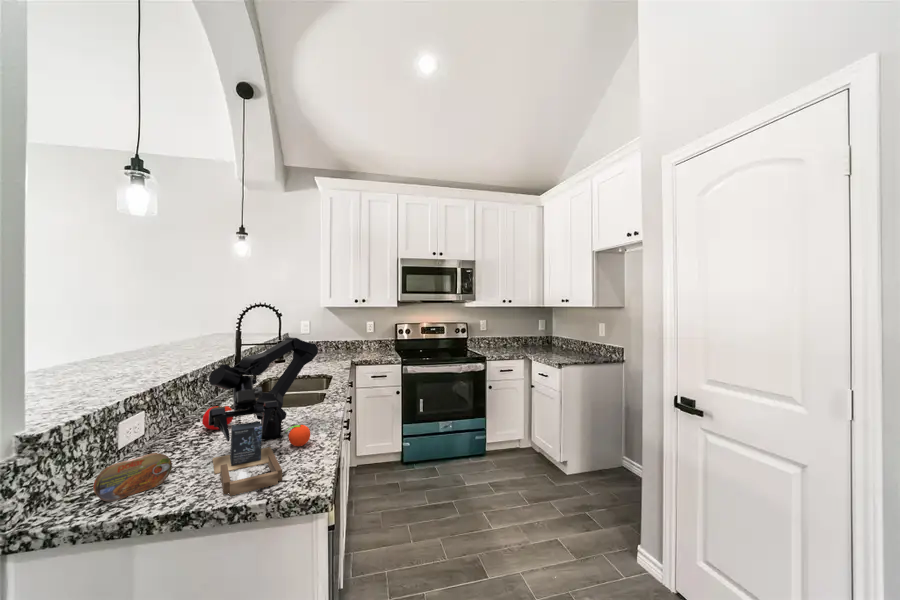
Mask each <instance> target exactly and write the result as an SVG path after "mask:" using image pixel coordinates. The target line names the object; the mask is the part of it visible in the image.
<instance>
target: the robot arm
mask: <svg viewBox="0 0 900 600" xmlns="http://www.w3.org/2000/svg"><path fill="white" fill-rule="evenodd" d="M290 352H292V360H291V361H290V362H289V364H288V366H286V368H285V370H284V371H283V373H282V374H281V375H280V377H279V378H278V379H277V381H276V383H275V384H274V385H273V386H272V389H270V391H268V392H266V391H265V392H264V391H263V387H262V386H257V387H256V386H255V388H254V387H253V386H254V385H256V384H257V383H258V380H257V379H255V378H253V377H252V376H259V375H261V374H263V373H264V372H265V371H266V370H268V368H269V367H270V365H271V363H273V362H275V361H276V360H278V359H279V358H281V357H283V356H285V355H286V354H288V353H290ZM318 354H319V347H318V345H317V344H316V343H314V342H307V341H305V340H302V339H300V338H298V337H286V338H285V339H284V340H282V341H281V342H278V343H277V344H275V345H273V346H272V347H269V348H268V349H266V350H264V351H262V352H260V353H255V354H250V355H247V356H245V357H243V358H242V359H240V360H239V362H238V363H237V364H235V365H234V366H232V367H231V366H230V365H228V364H224V363H222V364H220V366H219V367H217V368H216V369H215V370H214V371H212V372H211V373H210V375H209V378H208V379H209V380H208V382H209V384H210V385H212V386H214V387H216V388H217V387H218V388H220V389H223V390H225V391H230V390H232V398H233V409H232V410H231V411H225V407H223V406H221V407H220V408H212V409H211V410H210V411H209V425H210V426H212V425H214V427H218V428H219V429H218V430H220V432H221V433H222V434H223V436H224V438H225V440H226V441H227V442H230V441H231V437H230V430H229V425H228V424H227V418H229V417H233V418H234V417H242V416H243V417H244V416H249V415H256V418H257V420H260V423H261V425H262V441H268V440H273V439H278V438H279V437H280V438H282V437H283V434H282V421H283V420H285V419H286V417H287V412H286V411H285V410H284V409H283V405H284V397H285V395H286V394H287V392H288V390H289V389H290V387H291V386H292V385H293V383H294V381H296V378H297V377H298V375H299V374H300V372H301V371H302V369H303V368H304V366H305V365H307V364H309V363H311V362H312V361H313V360H314V359H315V357H316V356H317V355H318Z"/></svg>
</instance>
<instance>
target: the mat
mask: <svg viewBox="0 0 900 600" xmlns="http://www.w3.org/2000/svg"><path fill="white" fill-rule="evenodd" d="M273 454H274V451H273V450H272V448H271V447H270V446H269V447H261V460H259V461H253V462H248V463H242V464H237V465H234V466H231V461H230V454H227V455H222V456H216V457H212V464H213V474H214V475H219V474H220V470H221V465H224V464H227V466H228V471H229V472H233V471H236V470H237V471H238V470H242V469H246V468H251V467H256V466H260V465H265V464H268V456H269V455H273ZM274 455H275V454H274Z"/></svg>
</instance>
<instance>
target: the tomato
mask: <svg viewBox="0 0 900 600" xmlns="http://www.w3.org/2000/svg"><path fill="white" fill-rule="evenodd" d="M220 407H225V411H231V410H233V409H232V408H231V407H230V406H228V405H225V406H220V405H218V406H210V407H209V408H208V409H207V410H206V411H205V412H204V414H203V416H202V425H203V426H204V427H205V428H206V429H208V430H211V431H213V430H215V431H216V430H220V429H219V428H218V427H214V425H212V426H210V425H209V411H210V410H211V409H212V408H220ZM233 419H234V417H229V418H227V424H228V426H229V424H231V423H232V422H233Z"/></svg>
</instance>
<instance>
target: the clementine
mask: <svg viewBox="0 0 900 600" xmlns="http://www.w3.org/2000/svg"><path fill="white" fill-rule="evenodd" d="M288 431H289V433H288V441H289V443H290V444H291V445H292V446H294V447H303V446H304V445H306V444H307V443H308V442H309V440H310V439H311V435H312V434H311V430H310V428H309V427H308V426H306V425H305V424H297V425H293V426H291V427H289V428H288V429H287V430H286V431H285V434H287V432H288Z"/></svg>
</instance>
